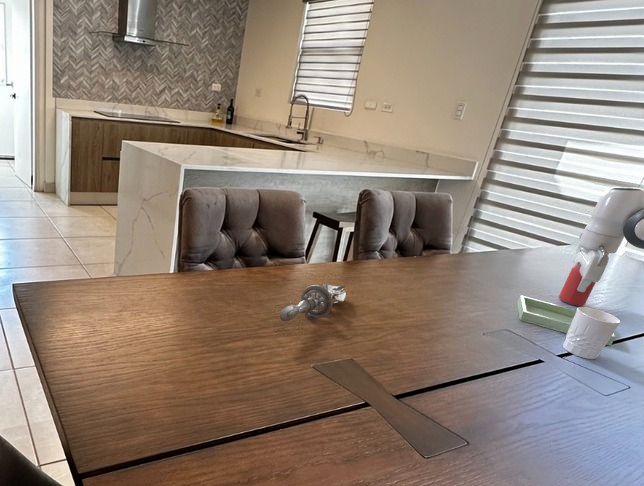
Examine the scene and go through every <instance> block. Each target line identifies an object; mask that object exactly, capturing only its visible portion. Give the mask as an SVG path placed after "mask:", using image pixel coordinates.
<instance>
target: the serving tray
mask: <svg viewBox="0 0 644 486" xmlns="http://www.w3.org/2000/svg"><path fill="white" fill-rule="evenodd" d="M516 305H517V311H518V319H519V321H522V322H524V323H529V324H531V325H535V326H539V327H543V328H545V329H550V330H553V331H557V332H560V333H564V334H567V333H568V330H569V327H570V325H571V323H572V320H573V318H574V316H575V313H576V311H577V309H573V308H569V307H566V306H562V305H559V304H556V303H551V302H547V301H544V300H541V299H540V300H539V299H536V298H532V297H528V296H524V295H521V294H520V295H519V298H518V300H517V302H516ZM615 339H616V335H615V334H614V333H613V334H612V336H611V338H610V339H609V340H608V342H607V344H606V345H605V346H608V347H611V346H612V344H613V343H614V342H615Z"/></svg>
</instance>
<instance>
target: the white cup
mask: <svg viewBox="0 0 644 486" xmlns="http://www.w3.org/2000/svg"><path fill="white" fill-rule="evenodd" d="M576 310H577V311H576V313H575V316H574V318H573V320H572V323H571V325H570V327H569V330H568V333H566V337H565V340H564V342H563V344H562V347H563V349H564V350H566V351H567V352H569V353H570V354H572V355H574V356H577V357H580V358H583V359H586V360H587V359H588V360H596V359H598V357H599V356H600V354H601V352H602V350H603V349H605V347H606V346H607V345H606V344H607V342H608V340H609V339H610V338H611V336H612V334H614V333H615V331H616V329H617V328H618V326H619V325H620V323H621V320H620V319H619V318H618V317H616V316H615V315H613V314H611V313H608V312H606V311H603V310H600V309H597V308H593V307H588V306H577V308H576Z"/></svg>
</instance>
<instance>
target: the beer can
mask: <svg viewBox="0 0 644 486" xmlns="http://www.w3.org/2000/svg"><path fill="white" fill-rule="evenodd" d="M580 267H581V265H580V264H579V262H577V264H576V265H575V264H574V265H573V266H572V268H571V269H570V271H569V273H568V275H567V278H566V279H565V282H564V284H563V286H562V287H561V291H560V293H559V295H558V299H559V300H560V301H561V302H562V303H565V304H568V305H571V306H575V307H584V306H585V305H586V303H587V301H588V299H589V298H590V295H591V293H592V291H593V289H594V288H595V285H596V283H597V282H593V281H592V282H591V284H590V285H589V286H588V287H587V288H586V290H585V292H580V291H578V290H577V287H578V284H580V282H581V280H582V276H581V274H580V272H579V271H580Z"/></svg>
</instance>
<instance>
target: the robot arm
mask: <svg viewBox="0 0 644 486" xmlns="http://www.w3.org/2000/svg"><path fill="white" fill-rule="evenodd" d="M623 239H625V241H627V243H628V244H630V245H631V246H633V247H635V248H638V249H642V250H644V190H643V189H642V188H640V187H633V186H613V187H611V188H608V189H606V190H605V191H604V192H603V193H602V195H601V196H600V197H599V199H598V201H597V203H596V205H595V207H594V209H593V210H592V212H591V218H590V221H589V222H588V224H587V225H586V226H585V227H584V229H583V231H582V232H581V233H580V235H579V237H578V242H577V244H578V245H577V248H576V251H575V253H574V255H573V263H574V266H575V265H576V264H577V262H579V264H580V265H581V267H580V271H579V272H580V274H581V276H582V280H581V282H580V284H578V287H577V290H578V291H580V292H585V290H586V288H587V287H588V286H589V285H590V284H591V282H592V281H593V282H596V283H598V282H599V281H601V279H602V277H603V275H604V272H605V270H606V268H607V266H608V263H609V260H610V257H609V255H610V254H615V253H617V251H618V249H619V247H620V245H621V243H622V241H623Z"/></svg>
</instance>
